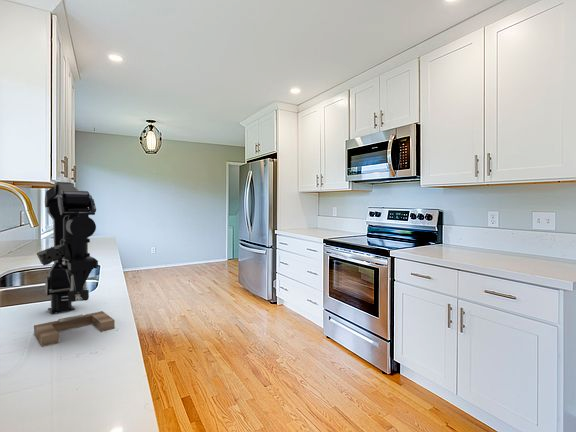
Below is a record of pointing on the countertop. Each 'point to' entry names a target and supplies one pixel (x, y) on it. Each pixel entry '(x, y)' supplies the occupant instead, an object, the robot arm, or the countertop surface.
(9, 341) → the countertop surface
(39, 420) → the countertop surface
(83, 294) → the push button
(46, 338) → the notched board
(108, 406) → the countertop surface
